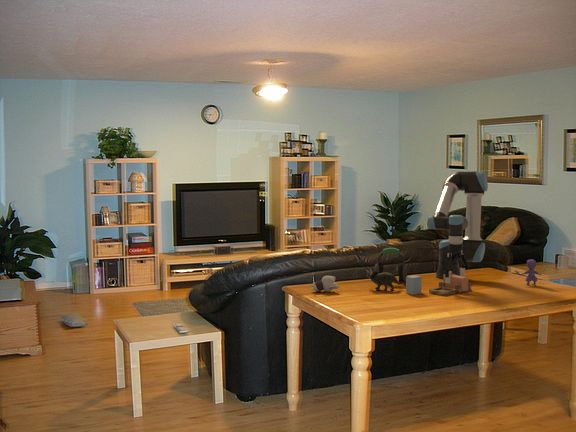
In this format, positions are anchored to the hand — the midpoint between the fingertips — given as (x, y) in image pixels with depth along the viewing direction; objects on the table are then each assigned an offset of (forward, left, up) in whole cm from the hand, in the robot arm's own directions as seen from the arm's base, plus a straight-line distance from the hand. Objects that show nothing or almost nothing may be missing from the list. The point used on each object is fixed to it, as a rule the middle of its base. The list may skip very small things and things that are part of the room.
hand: (455, 281), depth 364 cm
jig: (0, -6, -5) cm, 8 cm away
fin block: (-11, -22, -5) cm, 25 cm away
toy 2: (+21, +43, -5) cm, 48 cm away
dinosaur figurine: (-27, -28, -5) cm, 39 cm away
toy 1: (-45, -56, -5) cm, 72 cm away
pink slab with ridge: (+1, 0, -4) cm, 4 cm away
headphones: (-41, -6, -5) cm, 42 cm away
